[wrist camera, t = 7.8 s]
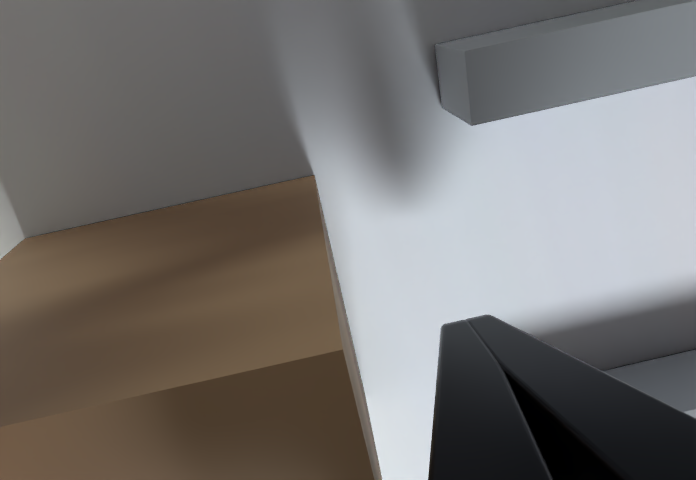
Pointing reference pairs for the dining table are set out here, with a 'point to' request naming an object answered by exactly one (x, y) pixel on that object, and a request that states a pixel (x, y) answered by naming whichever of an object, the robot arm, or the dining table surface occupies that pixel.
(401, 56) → the dining table surface
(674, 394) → the channel
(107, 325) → the tan block
